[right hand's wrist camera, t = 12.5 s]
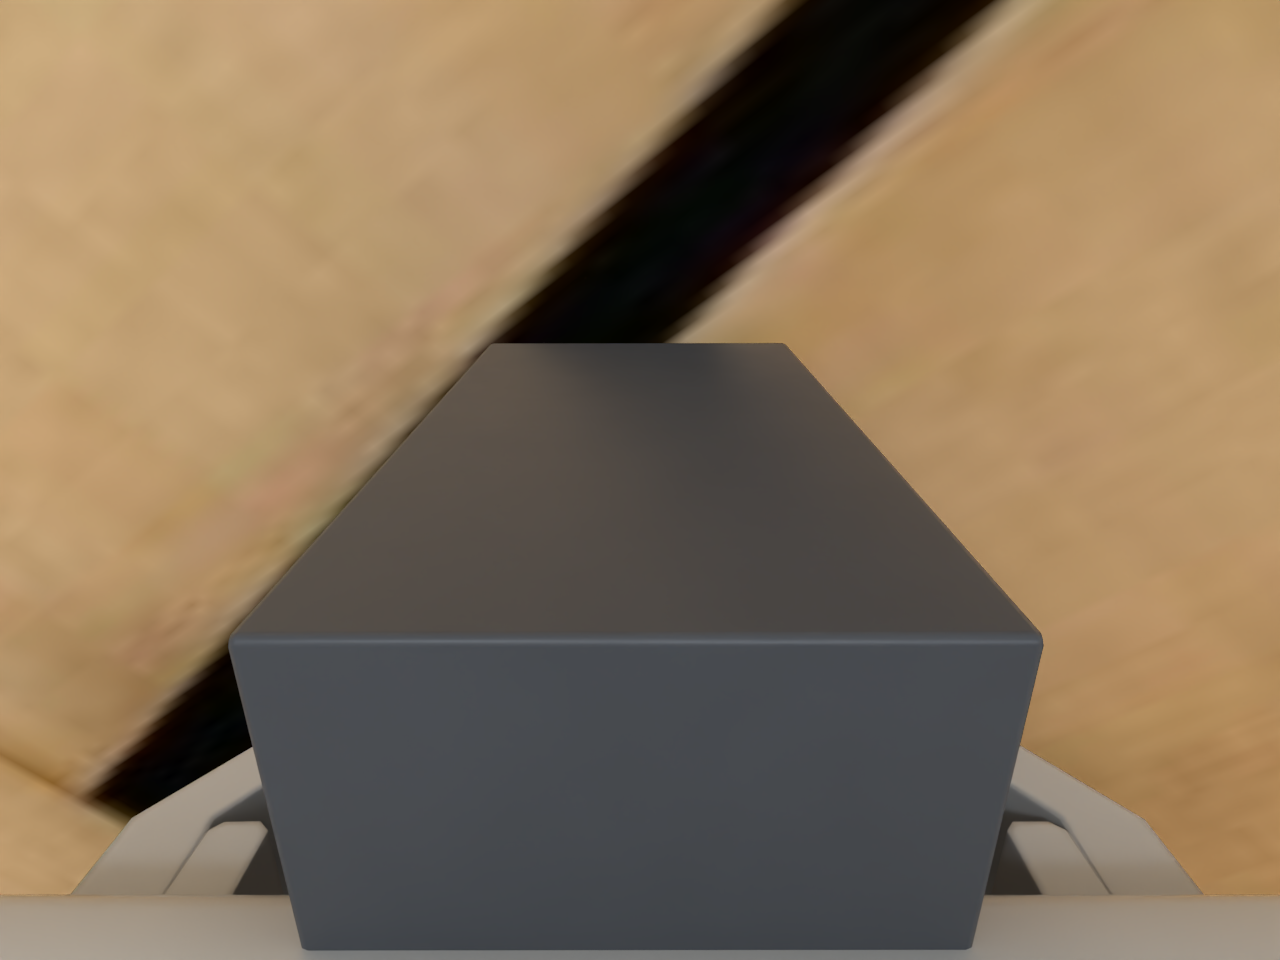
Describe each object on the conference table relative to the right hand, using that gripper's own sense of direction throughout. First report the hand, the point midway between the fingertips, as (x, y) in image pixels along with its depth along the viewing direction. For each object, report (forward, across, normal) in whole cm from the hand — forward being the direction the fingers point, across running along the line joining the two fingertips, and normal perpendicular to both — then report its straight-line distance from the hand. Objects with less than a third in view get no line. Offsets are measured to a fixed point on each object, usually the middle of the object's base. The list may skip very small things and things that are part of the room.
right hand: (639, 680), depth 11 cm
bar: (+3, 0, -8) cm, 9 cm away
